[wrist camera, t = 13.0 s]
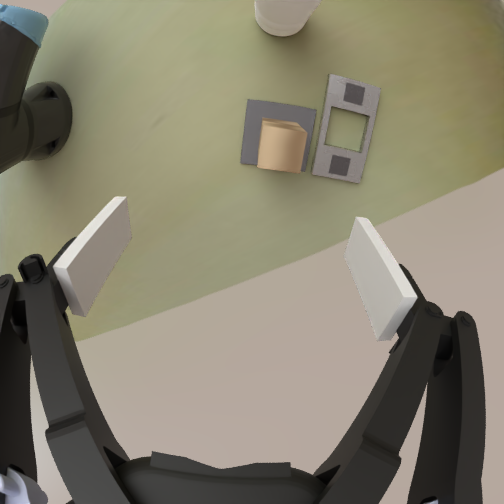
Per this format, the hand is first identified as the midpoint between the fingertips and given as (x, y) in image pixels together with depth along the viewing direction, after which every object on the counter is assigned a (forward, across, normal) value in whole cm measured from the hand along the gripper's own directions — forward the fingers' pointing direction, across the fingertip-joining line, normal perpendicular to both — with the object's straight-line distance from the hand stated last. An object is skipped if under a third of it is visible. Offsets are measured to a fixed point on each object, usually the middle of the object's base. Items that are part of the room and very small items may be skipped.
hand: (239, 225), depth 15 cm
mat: (+28, +4, 0) cm, 28 cm away
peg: (+28, +4, 0) cm, 28 cm away
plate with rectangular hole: (+28, +14, +3) cm, 31 cm away
